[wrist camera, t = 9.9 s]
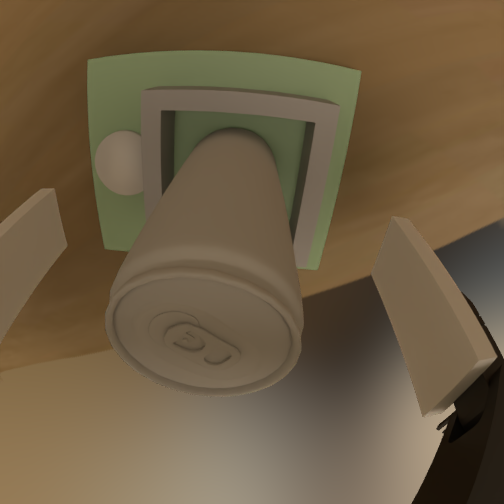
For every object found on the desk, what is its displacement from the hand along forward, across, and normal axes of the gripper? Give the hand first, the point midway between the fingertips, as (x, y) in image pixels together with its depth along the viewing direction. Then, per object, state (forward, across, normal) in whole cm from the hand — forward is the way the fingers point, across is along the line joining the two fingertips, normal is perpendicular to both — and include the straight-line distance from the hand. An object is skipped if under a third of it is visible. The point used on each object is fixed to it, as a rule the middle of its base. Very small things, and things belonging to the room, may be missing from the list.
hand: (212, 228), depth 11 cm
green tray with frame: (+8, -1, 0) cm, 8 cm away
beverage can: (+7, 0, 0) cm, 7 cm away
